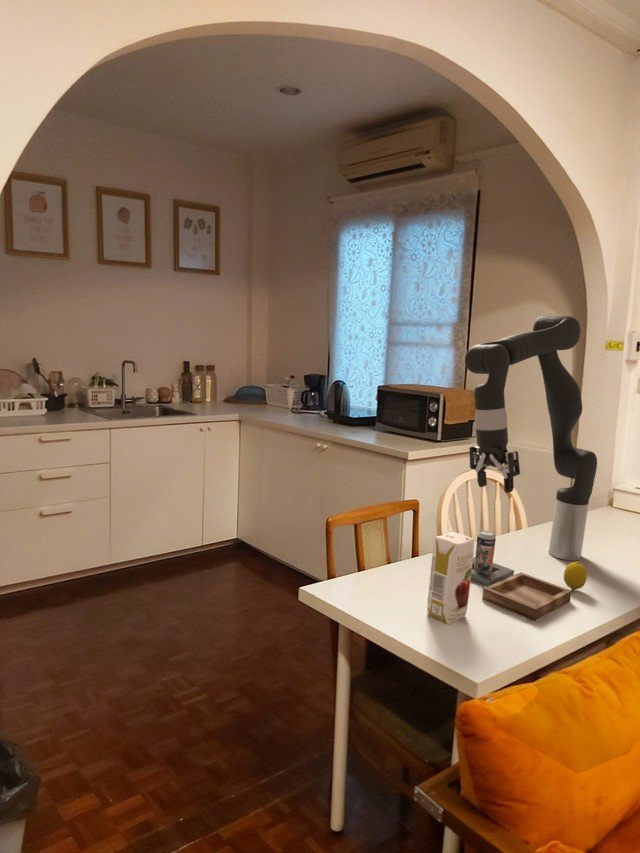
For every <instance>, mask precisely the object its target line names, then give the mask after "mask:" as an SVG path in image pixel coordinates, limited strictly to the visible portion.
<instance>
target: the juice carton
mask: <svg viewBox="0 0 640 853" xmlns="http://www.w3.org/2000/svg"><path fill="white" fill-rule="evenodd" d="M433 541H434V542H433V546H432V554H431V555H432V556H431V565H430V573H429V583H428V584H429V586H428V592H427V593H428V595H427V607H426V608H427V609H426V615H427V616H428V617H431V618H434V619H435V620H438V621H440V622H442V623H445V624H446V625H450V624H451V625H452V624H453V623H455V622H456V621H458V620H460V619H463V618H465V617H466V615H467V611H468V604H469V595H470V587H471V571H472V562H473V558H474V552H475V551H474V550H475V538H473V537H470V536H468V535H464V534H462V533H457V532H454V531H449V532H447V533H446V534H444V535H438V536H437V535H436V536H434V540H433Z"/></svg>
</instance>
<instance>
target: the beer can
mask: <svg viewBox="0 0 640 853" xmlns="http://www.w3.org/2000/svg"><path fill="white" fill-rule="evenodd" d="M496 540H497V537H496V534H495V533H494V532H492V531H489V530H480V531H479V532H478V534H477V536H476V544H475V554H474V557H475V562H474V570H476V571H479V572H481V573H484V574H486V575H487V574H490V573H492V566H493V563H494V556H495V549H496V548H495V547H496Z"/></svg>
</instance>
